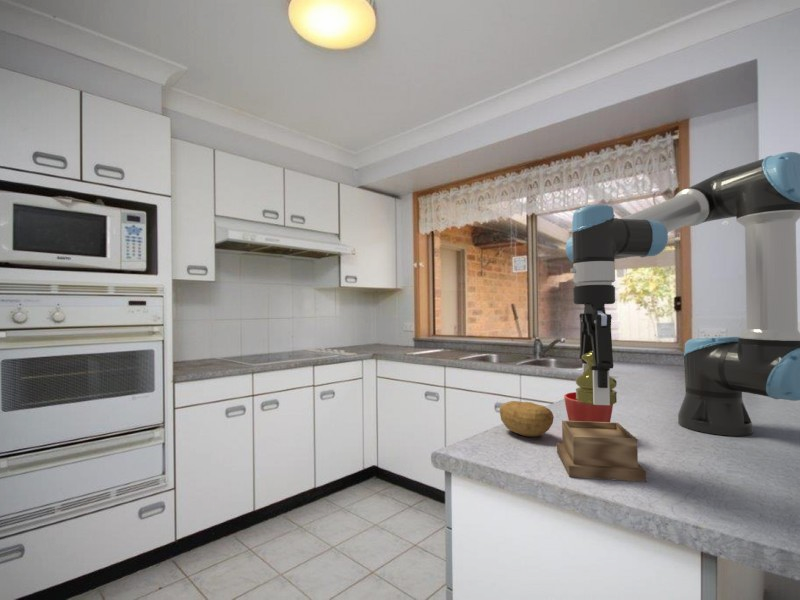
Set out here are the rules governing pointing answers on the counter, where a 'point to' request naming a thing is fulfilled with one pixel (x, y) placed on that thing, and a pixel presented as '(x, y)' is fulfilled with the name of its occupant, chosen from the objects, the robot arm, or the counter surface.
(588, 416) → the flower pot
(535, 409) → the potato
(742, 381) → the robot arm
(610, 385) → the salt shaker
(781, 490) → the counter surface
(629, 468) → the brown wooden square box
